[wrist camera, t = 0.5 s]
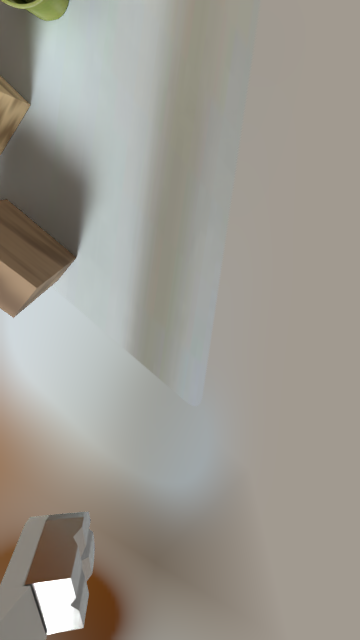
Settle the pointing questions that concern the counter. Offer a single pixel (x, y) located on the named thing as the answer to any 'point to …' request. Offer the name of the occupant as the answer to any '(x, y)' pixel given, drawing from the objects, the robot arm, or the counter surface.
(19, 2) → the plant pot
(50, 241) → the walnut step
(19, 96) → the oak box
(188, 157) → the counter surface
